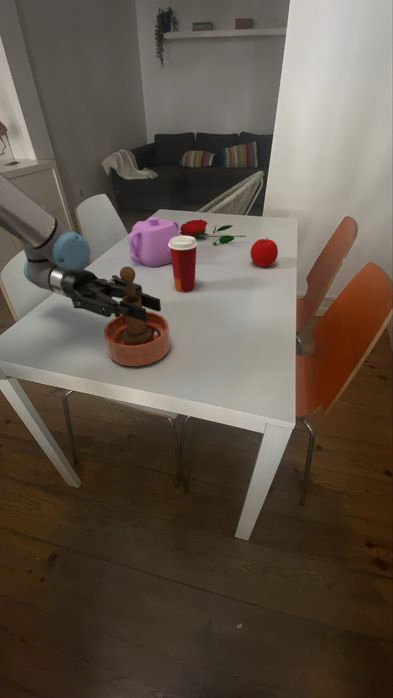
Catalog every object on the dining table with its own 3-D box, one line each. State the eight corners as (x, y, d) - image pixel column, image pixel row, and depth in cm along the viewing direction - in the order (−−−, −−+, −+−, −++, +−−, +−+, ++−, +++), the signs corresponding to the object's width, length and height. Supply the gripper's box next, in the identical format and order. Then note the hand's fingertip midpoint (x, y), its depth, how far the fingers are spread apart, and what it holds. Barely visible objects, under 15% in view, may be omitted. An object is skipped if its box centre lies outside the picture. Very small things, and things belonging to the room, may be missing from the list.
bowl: (101, 368, 69) (95, 346, 66) (117, 331, 81) (113, 310, 77) (166, 369, 69) (163, 347, 65) (173, 332, 80) (171, 311, 76)
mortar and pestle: (129, 332, 76) (116, 260, 65) (155, 333, 75) (147, 261, 64) (120, 349, 71) (104, 274, 60) (148, 351, 70) (137, 275, 59)
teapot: (138, 248, 126) (133, 210, 118) (190, 248, 125) (189, 210, 116) (126, 267, 111) (119, 226, 103) (185, 268, 110) (183, 226, 101)
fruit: (249, 269, 108) (251, 240, 102) (249, 259, 115) (252, 231, 109) (276, 270, 107) (280, 241, 101) (275, 260, 114) (279, 232, 108)
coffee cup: (201, 283, 100) (201, 236, 91) (192, 295, 94) (191, 246, 85) (177, 280, 103) (174, 233, 93) (167, 292, 97) (162, 243, 87)
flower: (248, 215, 119) (181, 213, 132) (240, 234, 116) (171, 230, 129) (252, 234, 126) (188, 230, 140) (244, 252, 123) (179, 246, 136)
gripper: (105, 284, 83) (177, 308, 72) (50, 313, 72) (126, 346, 61) (99, 256, 78) (175, 277, 68) (39, 282, 67) (120, 313, 57)
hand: (152, 310), depth 65 cm, fingers closed on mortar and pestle, 4 cm apart
